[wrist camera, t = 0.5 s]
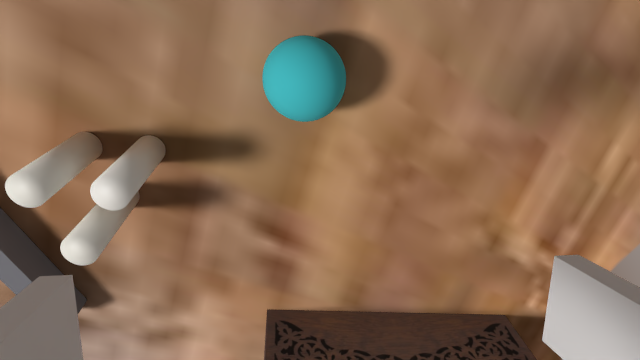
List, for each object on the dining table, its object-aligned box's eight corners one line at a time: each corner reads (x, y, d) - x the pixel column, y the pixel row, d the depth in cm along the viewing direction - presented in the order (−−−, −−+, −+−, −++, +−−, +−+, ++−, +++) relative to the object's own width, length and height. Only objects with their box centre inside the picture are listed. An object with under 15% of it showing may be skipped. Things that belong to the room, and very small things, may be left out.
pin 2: (128, 177, 34) (82, 229, 26) (145, 200, 35) (106, 256, 27) (104, 189, 34) (52, 244, 27) (121, 211, 35) (76, 270, 28)
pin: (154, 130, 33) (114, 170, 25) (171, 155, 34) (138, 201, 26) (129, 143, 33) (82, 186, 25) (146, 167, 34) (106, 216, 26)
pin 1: (89, 126, 32) (28, 166, 24) (108, 152, 33) (55, 197, 25) (64, 139, 32) (-4, 183, 25) (84, 164, 33) (24, 213, 26)
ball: (320, 18, 30) (329, 22, 25) (352, 90, 33) (366, 108, 27) (250, 54, 31) (243, 65, 26) (286, 122, 33) (286, 146, 28)
